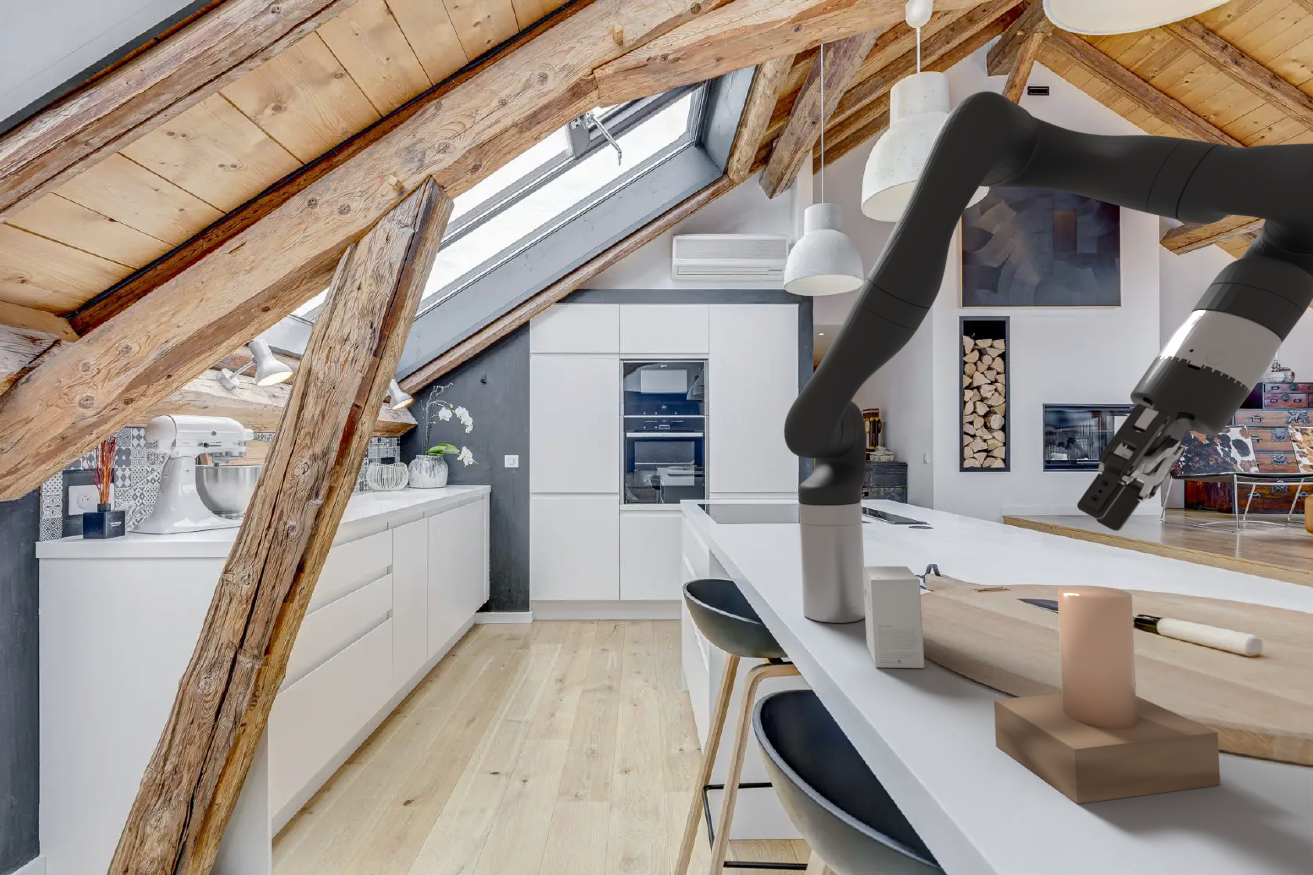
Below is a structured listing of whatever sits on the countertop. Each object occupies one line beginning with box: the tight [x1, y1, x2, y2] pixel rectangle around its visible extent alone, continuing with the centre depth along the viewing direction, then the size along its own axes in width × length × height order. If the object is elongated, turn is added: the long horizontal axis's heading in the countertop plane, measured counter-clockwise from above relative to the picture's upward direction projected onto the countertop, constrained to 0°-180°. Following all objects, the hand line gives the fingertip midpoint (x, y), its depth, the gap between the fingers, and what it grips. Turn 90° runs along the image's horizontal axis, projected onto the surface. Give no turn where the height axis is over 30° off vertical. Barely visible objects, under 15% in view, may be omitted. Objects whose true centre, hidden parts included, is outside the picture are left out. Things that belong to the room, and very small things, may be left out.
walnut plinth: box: [993, 692, 1221, 805], centre depth 52 cm, size 9×12×4 cm
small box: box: [863, 565, 925, 669], centre depth 78 cm, size 8×6×10 cm
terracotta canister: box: [1057, 584, 1138, 729], centre depth 52 cm, size 5×5×10 cm
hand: (1097, 520), depth 61 cm, fingers open, 8 cm apart
